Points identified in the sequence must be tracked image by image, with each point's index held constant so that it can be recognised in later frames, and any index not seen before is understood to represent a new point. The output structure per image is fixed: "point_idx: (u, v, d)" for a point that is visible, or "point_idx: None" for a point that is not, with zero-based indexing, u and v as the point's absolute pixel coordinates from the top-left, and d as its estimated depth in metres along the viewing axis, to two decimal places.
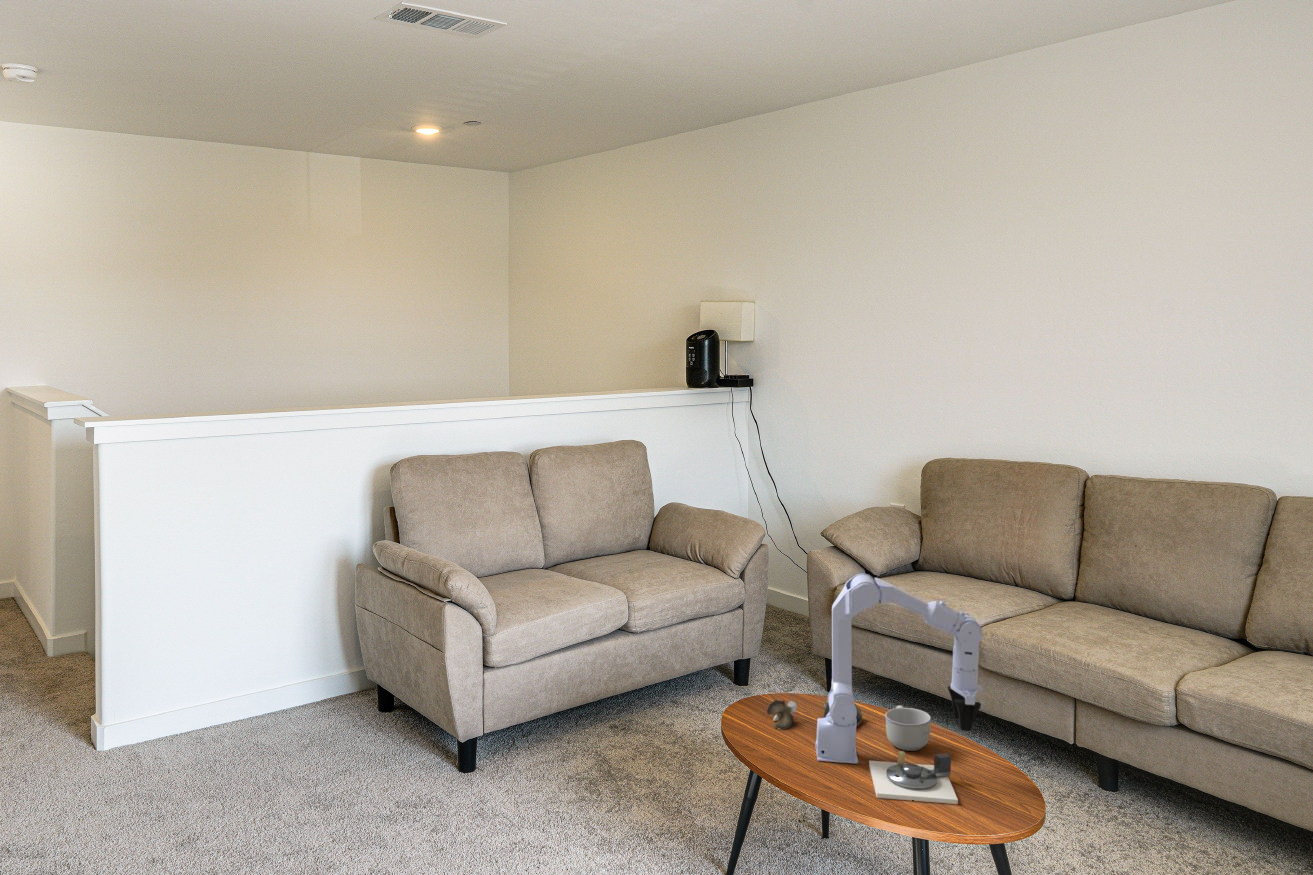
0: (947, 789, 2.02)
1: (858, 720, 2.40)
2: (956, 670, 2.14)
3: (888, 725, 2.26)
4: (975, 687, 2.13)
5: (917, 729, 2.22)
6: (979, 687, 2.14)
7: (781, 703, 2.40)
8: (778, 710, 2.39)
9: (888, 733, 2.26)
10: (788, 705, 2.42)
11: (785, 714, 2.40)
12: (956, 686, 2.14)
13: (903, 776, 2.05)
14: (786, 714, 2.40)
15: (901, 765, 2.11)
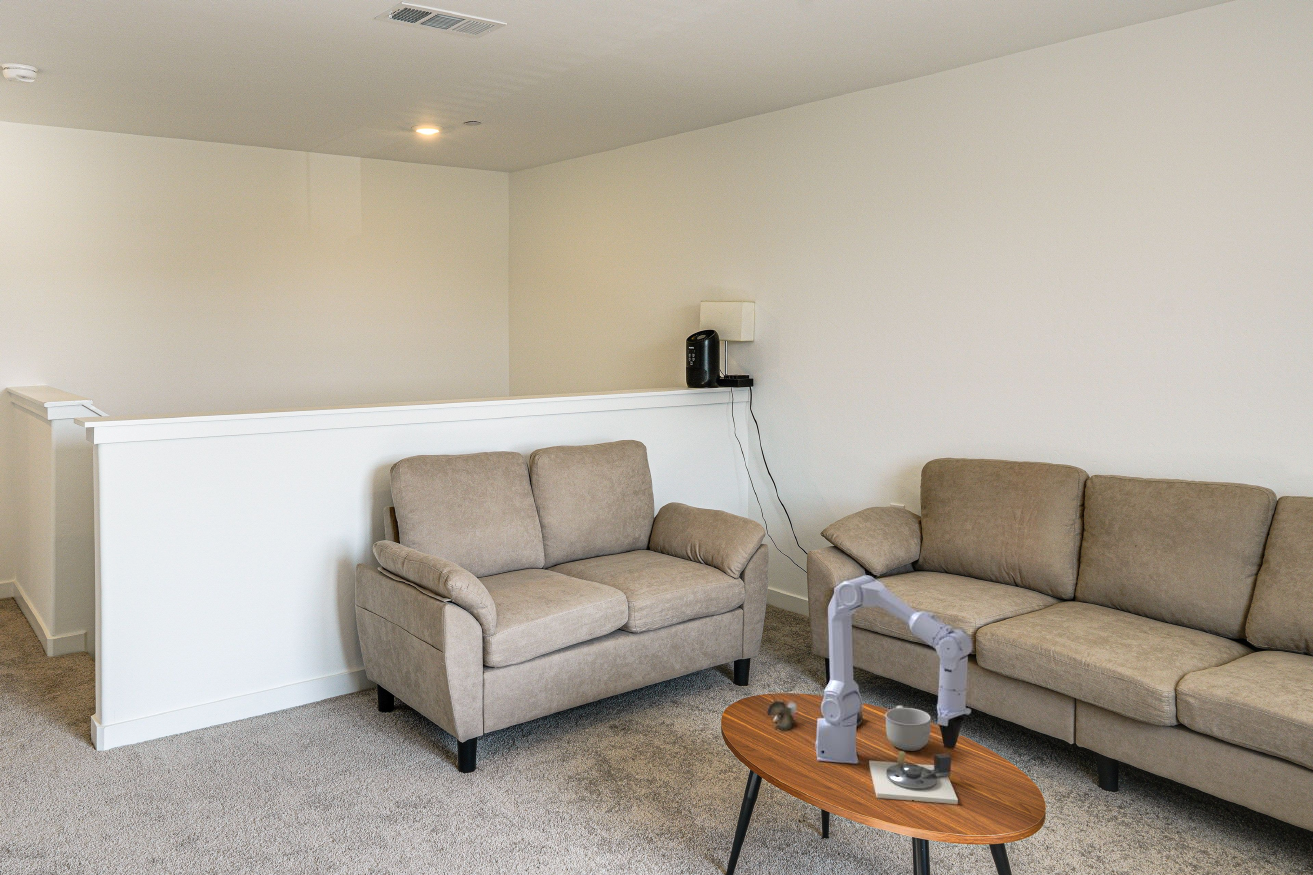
0: (947, 789, 2.02)
1: (858, 720, 2.40)
2: (939, 688, 2.00)
3: (888, 725, 2.26)
4: (959, 709, 1.98)
5: (917, 729, 2.22)
6: (966, 710, 1.99)
7: (781, 704, 2.39)
8: (778, 711, 2.38)
9: (888, 733, 2.26)
10: (788, 706, 2.41)
11: (785, 715, 2.39)
12: (939, 705, 2.00)
13: (903, 776, 2.05)
14: (786, 715, 2.39)
15: (901, 765, 2.11)
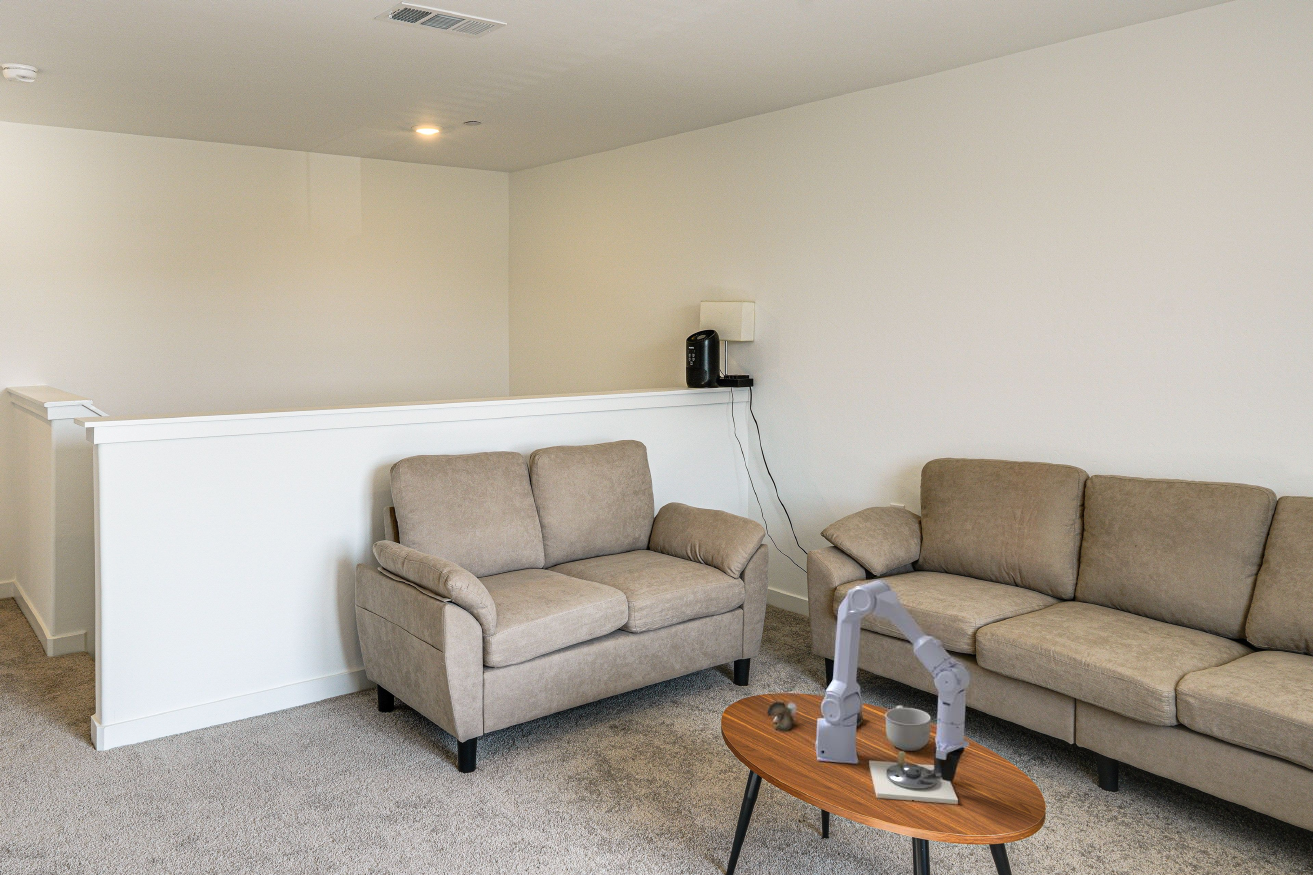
0: (947, 789, 2.02)
1: (859, 720, 2.40)
2: (938, 721, 2.01)
3: (888, 725, 2.26)
4: (957, 742, 1.99)
5: (917, 729, 2.22)
6: (965, 743, 1.99)
7: (781, 704, 2.39)
8: (778, 712, 2.38)
9: (888, 733, 2.26)
10: (788, 706, 2.41)
11: (785, 716, 2.39)
12: (937, 738, 2.01)
13: (903, 776, 2.05)
14: (786, 716, 2.39)
15: (901, 765, 2.11)
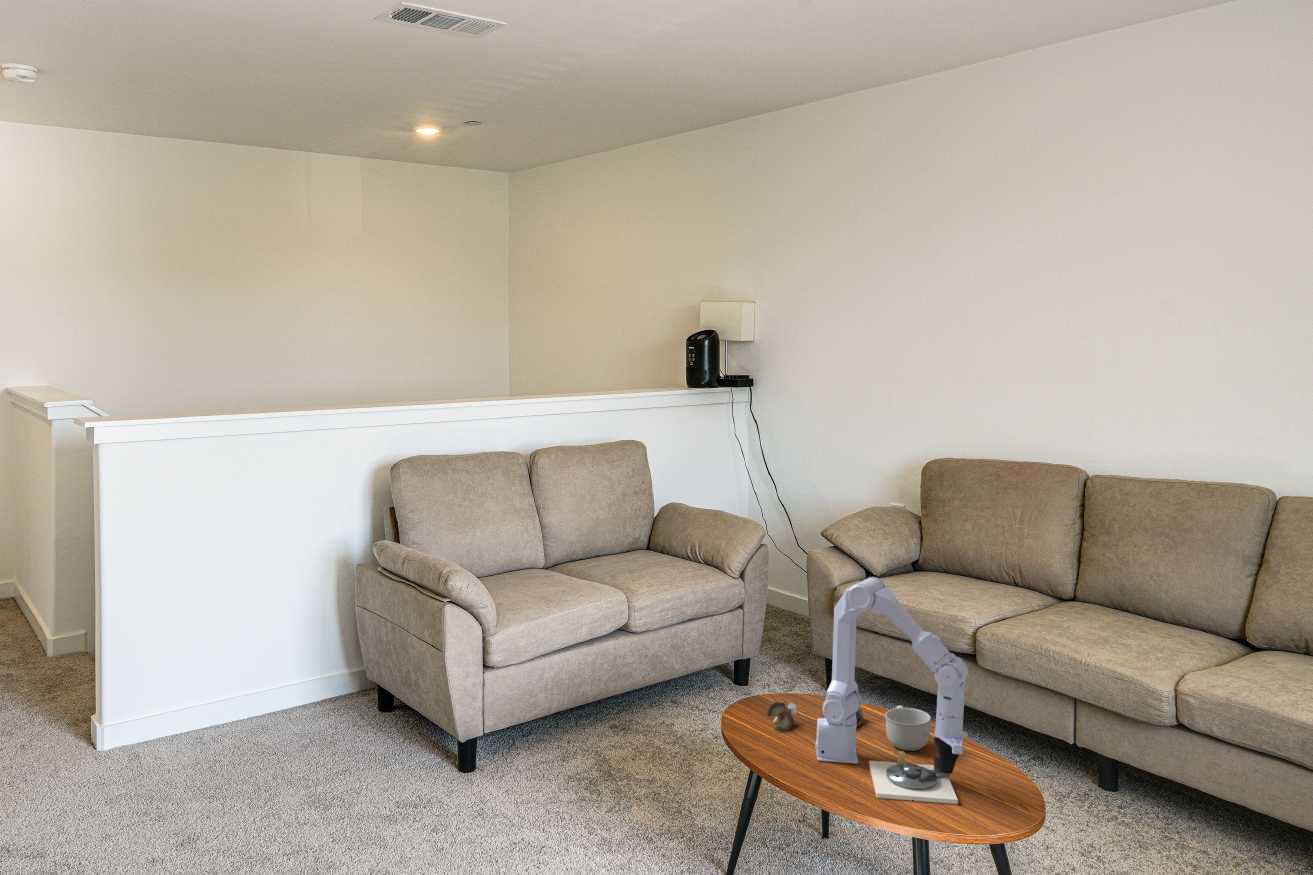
0: (947, 789, 2.02)
1: (859, 720, 2.40)
2: (941, 717, 2.03)
3: (888, 725, 2.26)
4: (961, 734, 2.03)
5: (917, 729, 2.22)
6: (964, 733, 2.05)
7: (781, 705, 2.38)
8: (778, 712, 2.38)
9: (888, 733, 2.26)
10: (788, 707, 2.41)
11: (785, 716, 2.38)
12: (941, 733, 2.04)
13: (903, 776, 2.05)
14: (786, 716, 2.38)
15: (901, 765, 2.11)
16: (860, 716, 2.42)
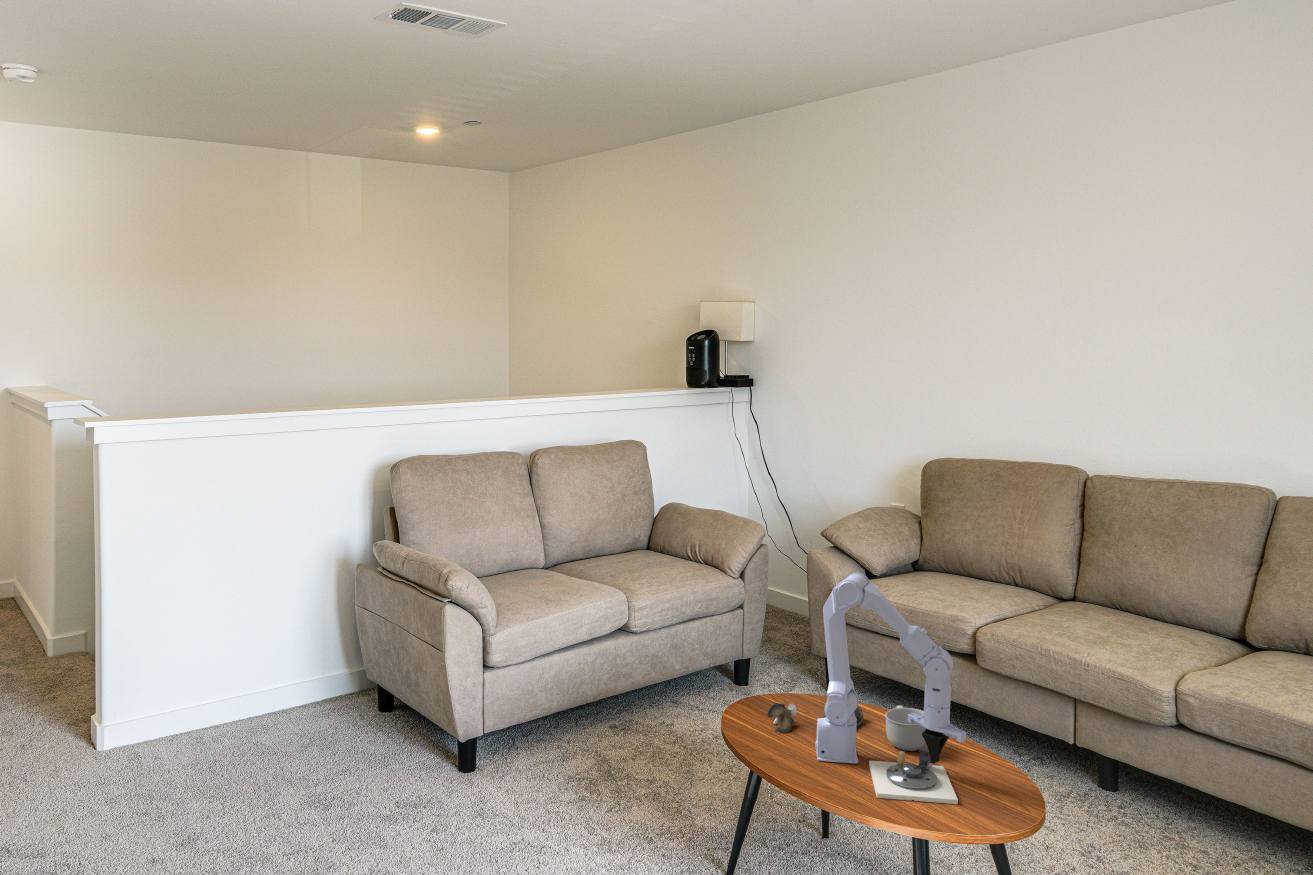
0: (947, 789, 2.02)
1: (859, 720, 2.40)
2: (937, 710, 2.07)
3: (888, 725, 2.26)
4: None
5: (917, 729, 2.22)
6: None
7: (781, 706, 2.38)
8: (778, 713, 2.37)
9: (888, 733, 2.26)
10: (788, 708, 2.40)
11: (785, 717, 2.37)
12: (937, 726, 2.07)
13: (909, 778, 2.04)
14: (786, 717, 2.38)
15: (892, 767, 2.10)
16: (860, 716, 2.42)
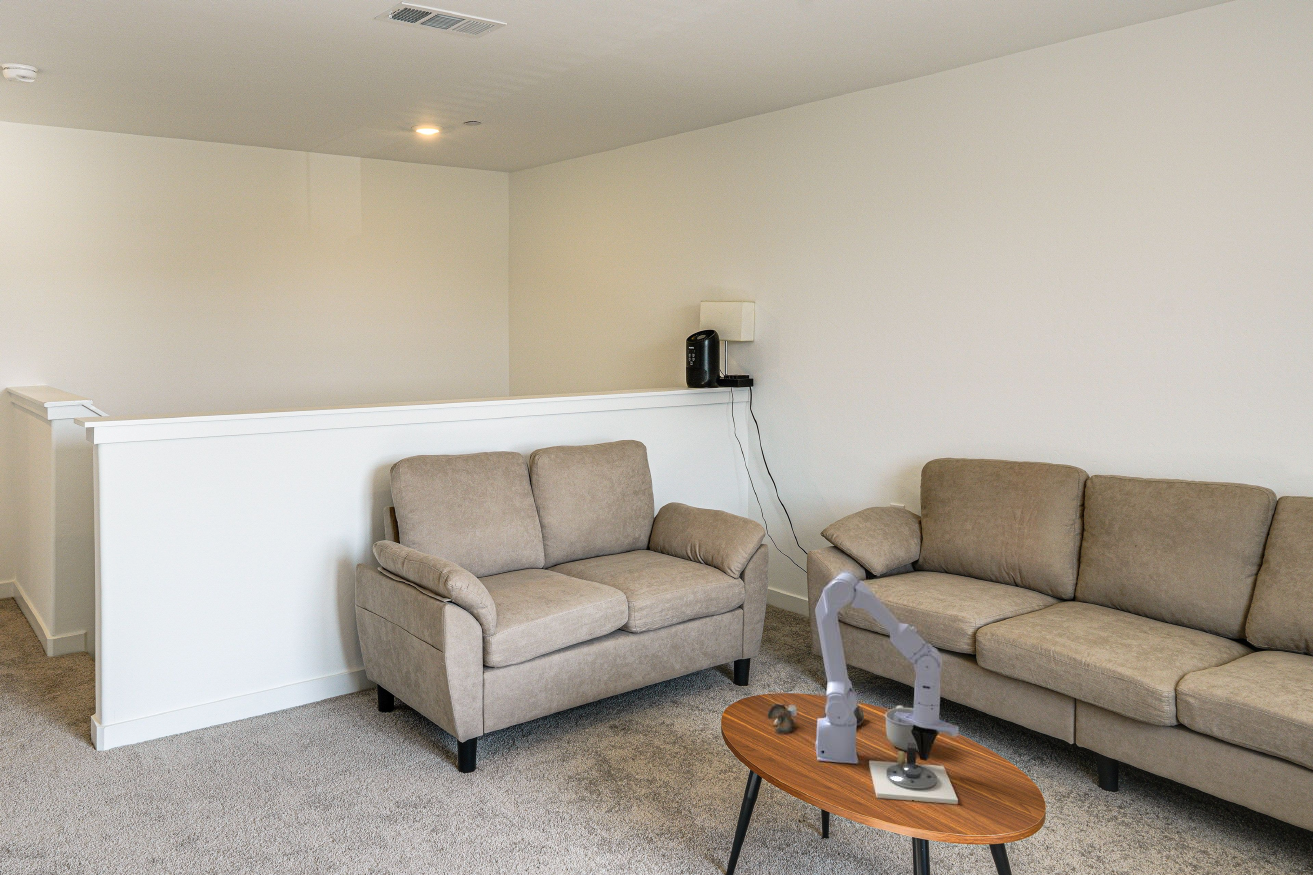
0: (947, 789, 2.02)
1: (859, 720, 2.40)
2: (930, 707, 2.09)
3: (888, 725, 2.26)
4: None
5: None
6: None
7: (782, 707, 2.37)
8: (779, 714, 2.36)
9: (888, 733, 2.26)
10: (788, 709, 2.39)
11: (786, 718, 2.37)
12: (930, 723, 2.09)
13: (913, 779, 2.04)
14: (787, 718, 2.37)
15: (890, 770, 2.08)
16: (861, 716, 2.42)
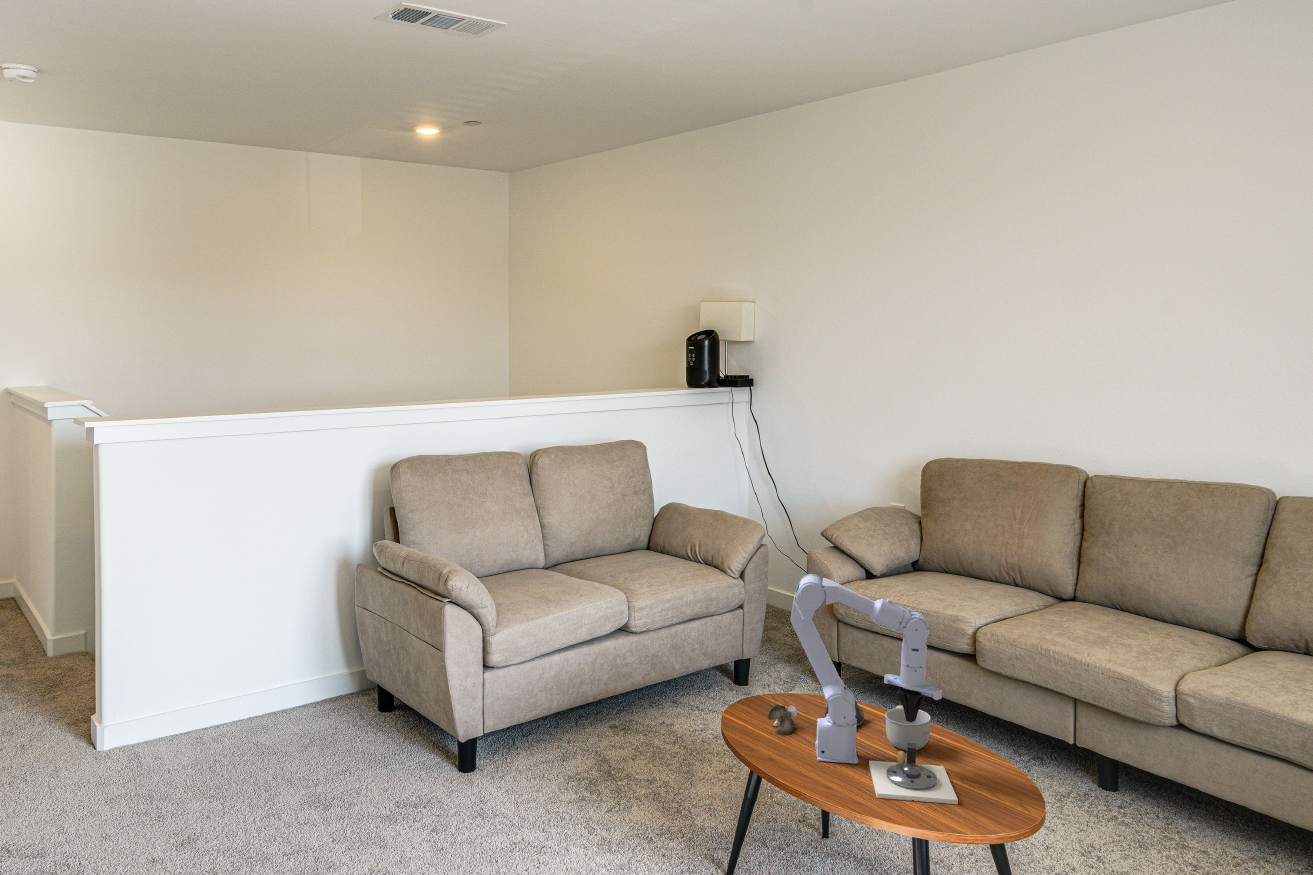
0: (947, 789, 2.02)
1: (859, 720, 2.40)
2: (913, 669, 2.13)
3: (888, 725, 2.26)
4: None
5: (917, 729, 2.22)
6: None
7: (782, 708, 2.36)
8: (779, 715, 2.35)
9: (888, 733, 2.26)
10: (788, 710, 2.39)
11: (786, 719, 2.36)
12: (914, 685, 2.13)
13: (913, 779, 2.04)
14: (787, 719, 2.36)
15: (890, 770, 2.08)
16: (861, 716, 2.42)
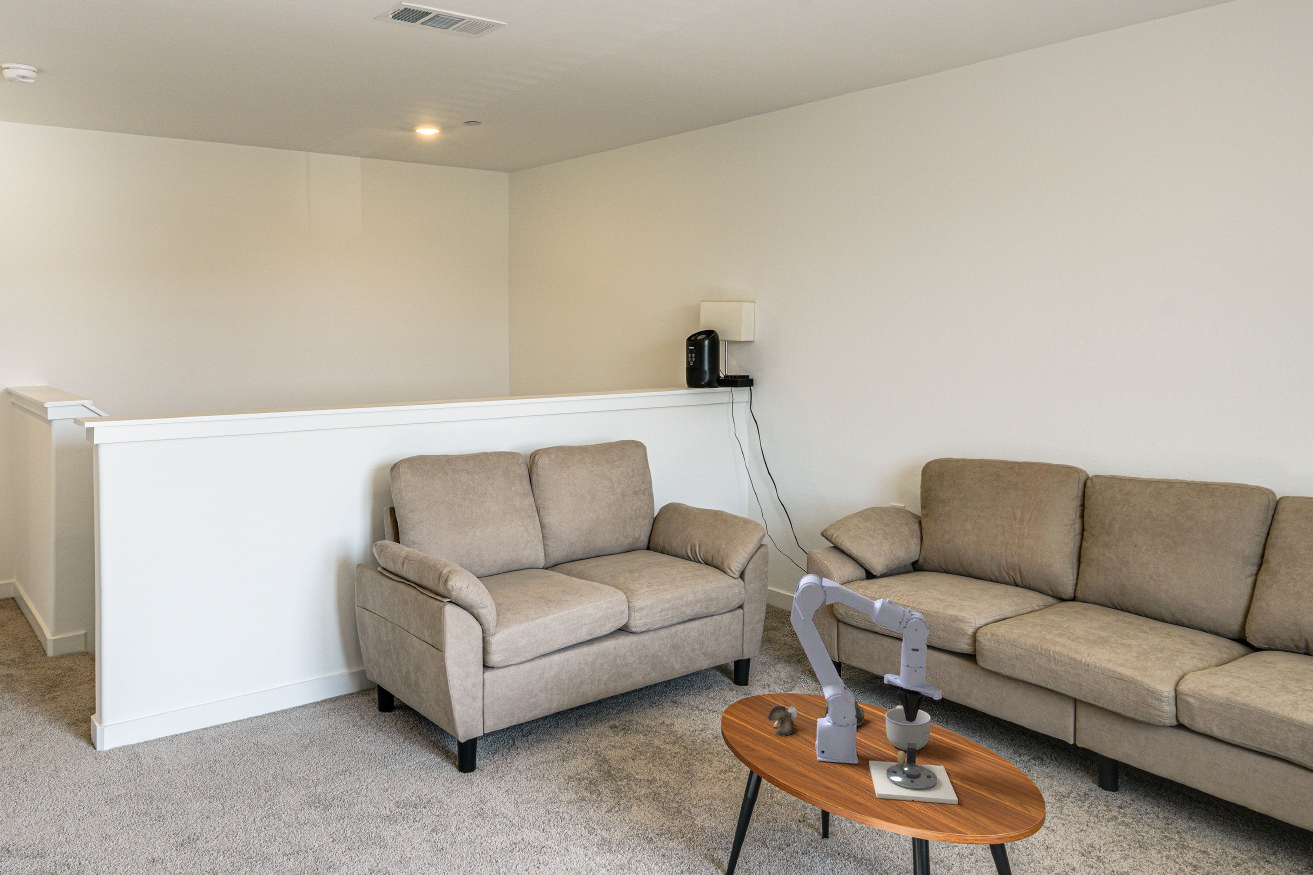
0: (947, 789, 2.02)
1: (860, 720, 2.40)
2: (913, 669, 2.13)
3: (888, 725, 2.26)
4: None
5: (917, 729, 2.22)
6: None
7: (782, 709, 2.36)
8: (779, 716, 2.35)
9: (888, 733, 2.26)
10: (789, 711, 2.38)
11: (786, 720, 2.36)
12: (914, 685, 2.13)
13: (913, 779, 2.04)
14: (787, 720, 2.36)
15: (890, 770, 2.08)
16: (861, 716, 2.42)
